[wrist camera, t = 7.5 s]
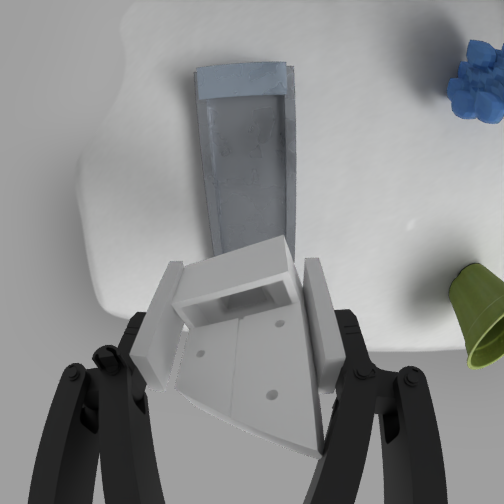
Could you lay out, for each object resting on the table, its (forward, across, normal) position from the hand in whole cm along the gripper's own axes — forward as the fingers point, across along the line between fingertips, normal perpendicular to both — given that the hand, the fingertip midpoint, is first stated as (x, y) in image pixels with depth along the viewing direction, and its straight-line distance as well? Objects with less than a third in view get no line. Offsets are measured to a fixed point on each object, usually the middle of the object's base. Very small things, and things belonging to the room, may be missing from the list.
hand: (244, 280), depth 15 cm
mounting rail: (+12, 0, 0) cm, 12 cm away
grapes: (+12, +21, +15) cm, 29 cm away
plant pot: (+12, +30, -12) cm, 35 cm away
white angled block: (0, 0, 0) cm, 0 cm away
